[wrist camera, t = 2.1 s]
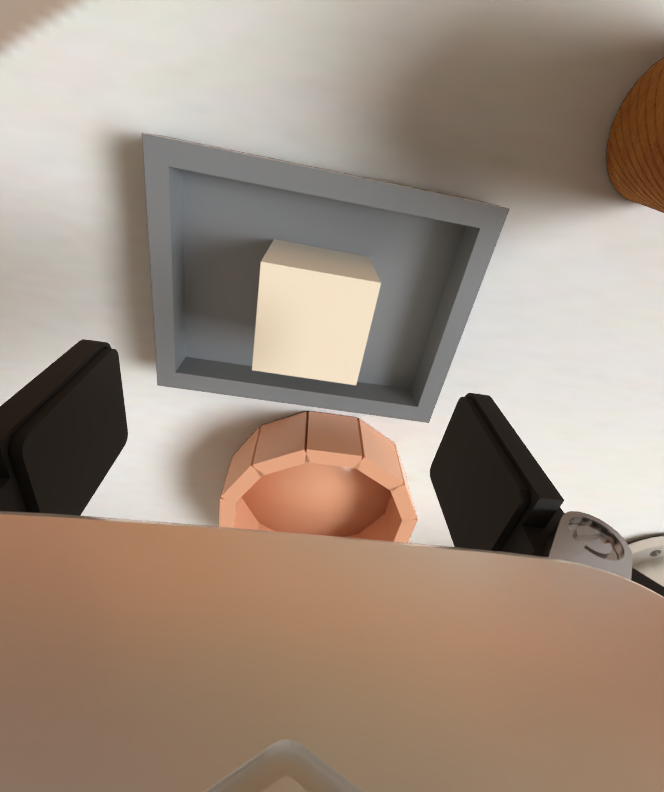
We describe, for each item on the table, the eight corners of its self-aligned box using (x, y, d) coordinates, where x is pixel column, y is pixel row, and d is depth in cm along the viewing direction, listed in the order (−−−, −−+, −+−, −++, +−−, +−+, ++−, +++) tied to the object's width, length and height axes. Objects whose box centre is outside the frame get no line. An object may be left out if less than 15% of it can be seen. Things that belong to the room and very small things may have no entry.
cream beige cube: (369, 256, 21) (381, 282, 16) (349, 343, 23) (356, 385, 19) (274, 239, 20) (261, 261, 16) (265, 329, 23) (251, 370, 18)
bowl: (425, 427, 27) (440, 466, 24) (380, 547, 34) (386, 591, 30) (235, 400, 26) (222, 438, 22) (227, 532, 32) (216, 576, 29)
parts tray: (489, 203, 20) (509, 208, 18) (419, 400, 26) (428, 422, 24) (163, 136, 18) (142, 133, 16) (172, 365, 24) (157, 385, 22)
